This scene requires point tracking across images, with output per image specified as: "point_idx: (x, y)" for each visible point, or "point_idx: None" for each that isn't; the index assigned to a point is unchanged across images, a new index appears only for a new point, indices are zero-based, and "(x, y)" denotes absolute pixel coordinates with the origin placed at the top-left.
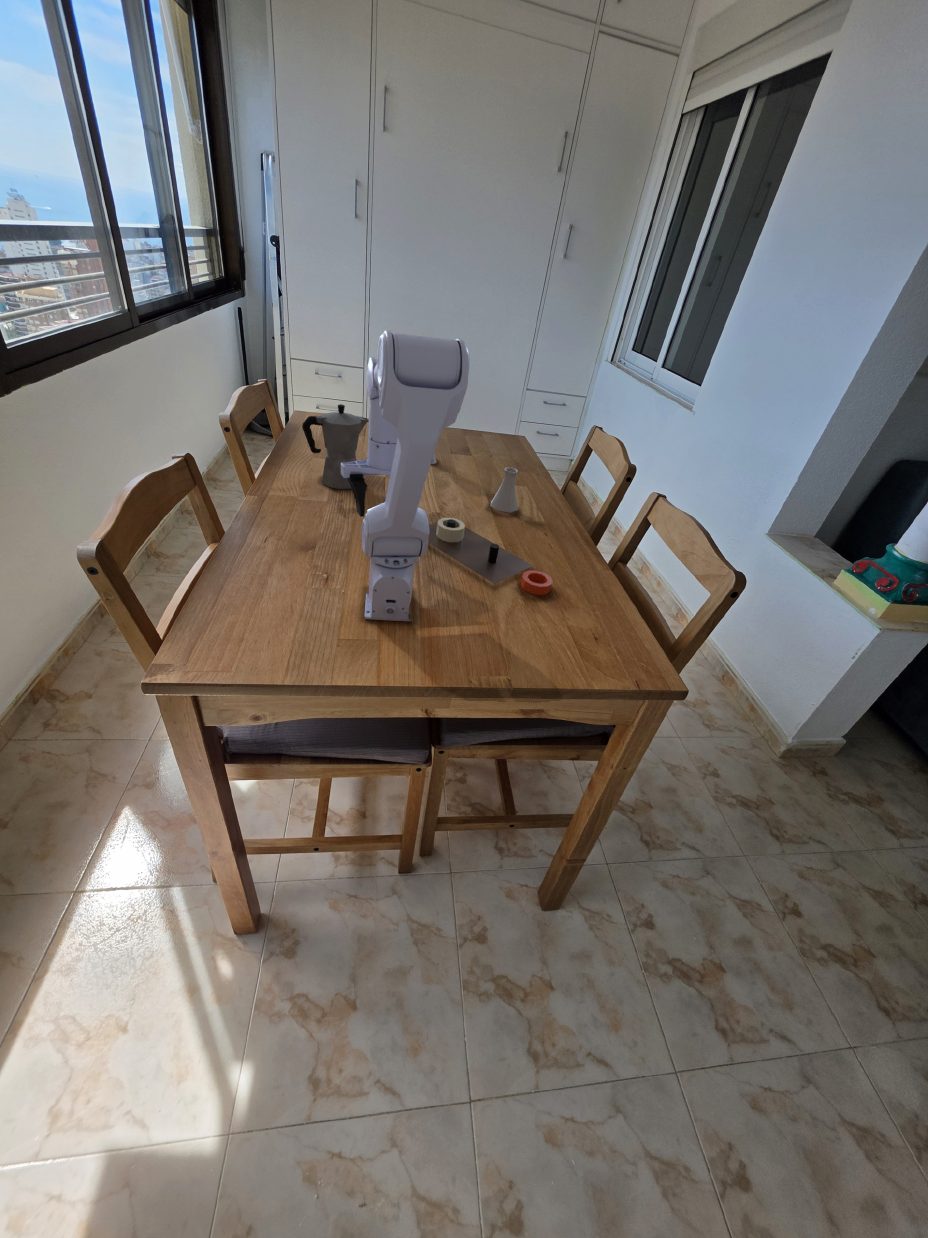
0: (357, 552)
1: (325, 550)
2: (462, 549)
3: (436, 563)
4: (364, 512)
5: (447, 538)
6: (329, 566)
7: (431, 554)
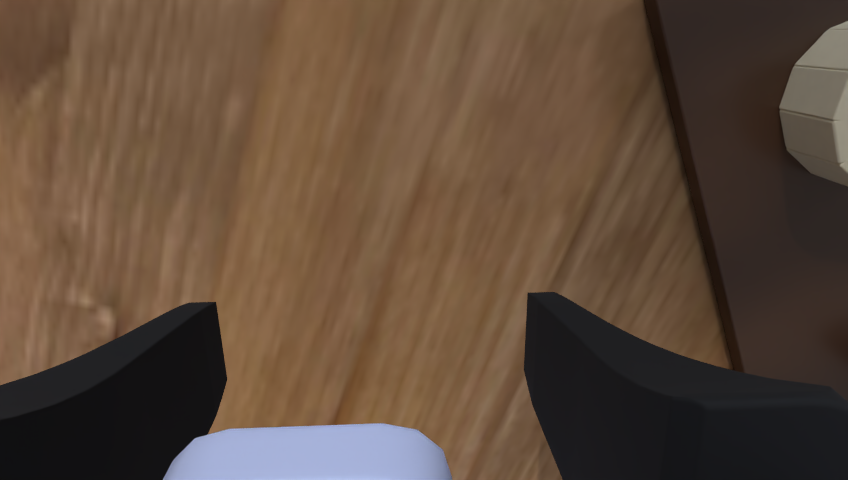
0: (289, 145)
1: (121, 95)
2: (829, 254)
3: (641, 306)
4: (216, 410)
5: (814, 169)
6: (130, 251)
7: (660, 226)
